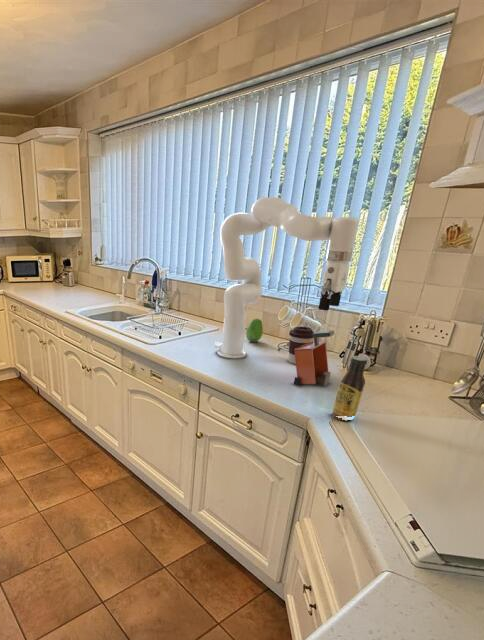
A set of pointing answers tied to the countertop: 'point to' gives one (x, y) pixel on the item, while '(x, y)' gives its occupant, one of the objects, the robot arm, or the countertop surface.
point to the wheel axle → (297, 381)
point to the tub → (312, 358)
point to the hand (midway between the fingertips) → (328, 307)
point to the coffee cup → (298, 340)
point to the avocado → (254, 330)
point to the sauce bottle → (350, 389)
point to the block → (322, 377)
